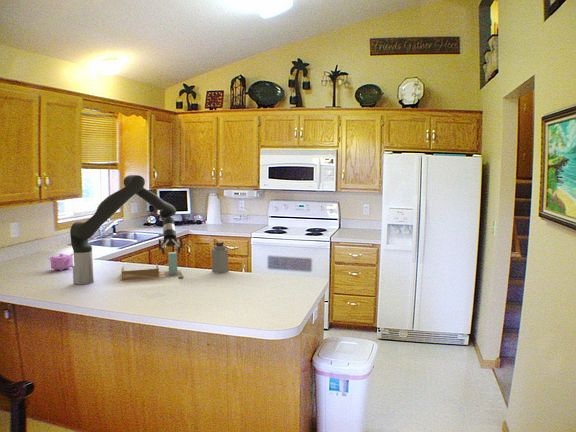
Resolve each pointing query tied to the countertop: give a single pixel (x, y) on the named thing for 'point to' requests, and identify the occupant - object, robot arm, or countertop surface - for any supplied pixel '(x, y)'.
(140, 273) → the stand
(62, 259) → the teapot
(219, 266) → the perfume bottle
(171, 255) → the block
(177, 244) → the robot arm
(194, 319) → the countertop surface
